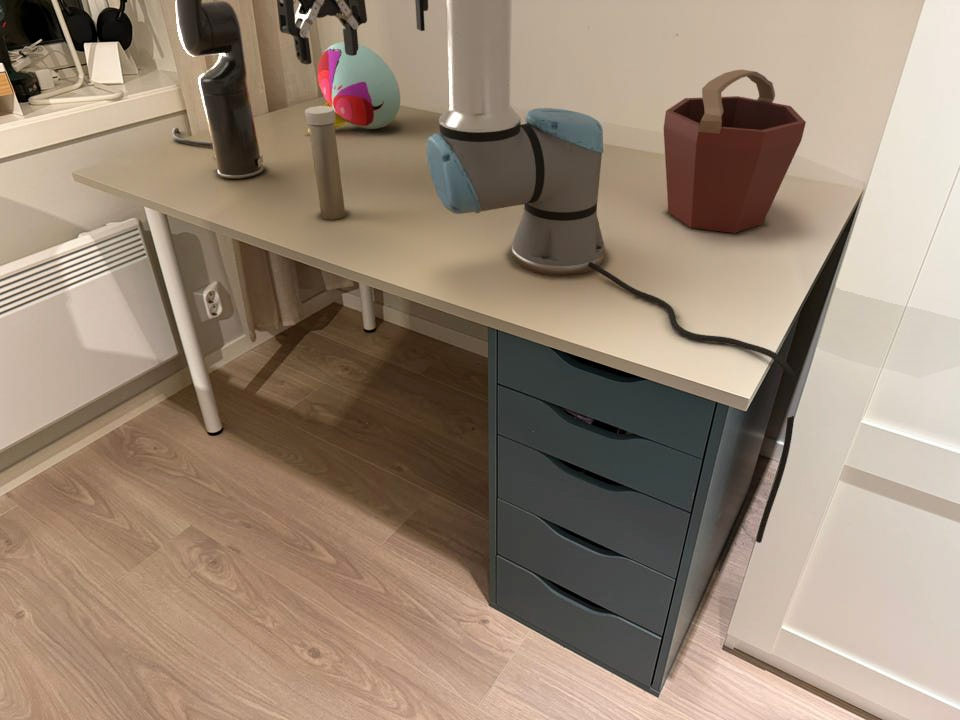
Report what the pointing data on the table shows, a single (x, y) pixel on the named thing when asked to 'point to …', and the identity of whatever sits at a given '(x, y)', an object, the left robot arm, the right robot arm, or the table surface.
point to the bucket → (728, 154)
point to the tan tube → (327, 171)
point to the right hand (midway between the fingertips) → (387, 32)
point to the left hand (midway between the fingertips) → (329, 59)
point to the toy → (358, 87)
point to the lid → (320, 115)
